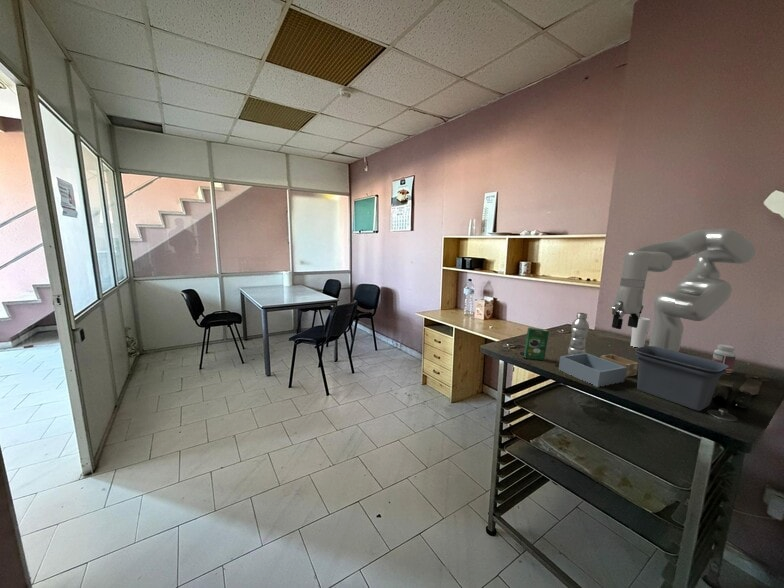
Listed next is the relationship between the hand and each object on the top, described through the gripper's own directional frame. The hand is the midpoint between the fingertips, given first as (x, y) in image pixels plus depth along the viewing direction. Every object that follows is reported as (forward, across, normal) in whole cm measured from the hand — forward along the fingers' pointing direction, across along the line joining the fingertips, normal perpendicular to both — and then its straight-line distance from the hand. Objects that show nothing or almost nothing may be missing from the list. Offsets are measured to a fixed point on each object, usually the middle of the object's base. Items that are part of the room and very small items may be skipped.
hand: (624, 327), depth 122 cm
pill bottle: (+18, -44, +14) cm, 50 cm away
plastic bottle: (+18, +4, -15) cm, 24 cm away
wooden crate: (+18, 0, 0) cm, 18 cm away
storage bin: (+18, +5, +21) cm, 28 cm away
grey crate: (+18, +16, 0) cm, 24 cm away
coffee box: (+18, +23, -20) cm, 35 cm away
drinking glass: (+18, -43, -17) cm, 50 cm away
